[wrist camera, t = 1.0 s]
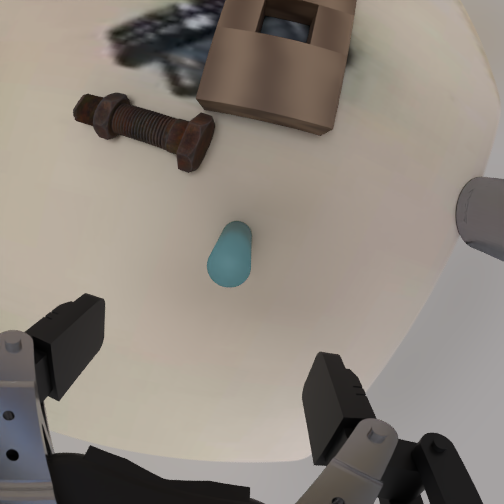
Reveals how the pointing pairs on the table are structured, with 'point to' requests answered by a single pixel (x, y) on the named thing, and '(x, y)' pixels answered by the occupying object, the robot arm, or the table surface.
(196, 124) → the bolt
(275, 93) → the walnut hole block
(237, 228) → the teal peg
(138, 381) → the table surface
